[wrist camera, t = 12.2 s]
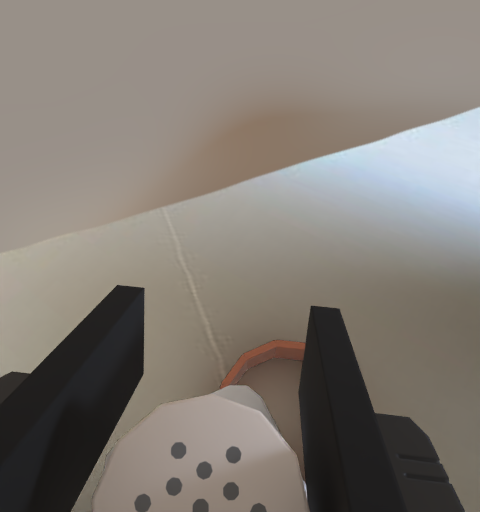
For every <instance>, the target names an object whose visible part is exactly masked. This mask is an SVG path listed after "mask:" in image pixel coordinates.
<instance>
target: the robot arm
mask: <svg viewBox="0 0 480 512" xmlns="http://www.w3.org/2000/svg"><path fill="white" fill-rule="evenodd" d="M143 372H144V288H140V287H131V286H121V285H117V286H116V287H115V288H114V289H113V290H112V291H111V292H110V293H109V294H108V295H107V296H106V297H105V298H104V299H103V300H102V301H101V302H100V303H99V304H98V305H97V306H96V307H95V308H94V309H93V310H92V312H91V313H90V314H89V315H88V316H87V317H86V318H85V319H84V320H83V321H82V322H81V323H80V324H79V325H78V326H77V327H76V328H75V329H74V330H73V331H72V332H71V333H70V334H69V335H68V336H67V337H66V338H65V339H64V340H63V341H62V342H61V343H60V344H59V345H58V346H57V347H56V348H55V349H54V350H53V351H52V352H51V353H50V354H49V355H48V356H47V357H46V358H45V359H44V360H43V361H42V362H41V363H40V365H39V366H38V367H37V368H36V369H35V370H34V371H33V372H32V373H31V374H28V373H19V372H10V373H8V374H6V375H5V376H3V377H1V378H0V512H71V510H72V508H73V506H74V504H75V502H76V500H77V498H78V497H79V495H80V493H81V491H82V489H83V487H84V485H85V483H86V481H87V480H88V478H89V476H90V474H91V472H92V470H93V468H94V466H95V464H96V463H97V461H98V459H99V457H100V455H101V453H102V451H103V449H104V447H105V446H106V444H107V442H108V440H109V438H110V436H111V434H112V432H113V430H114V429H115V427H116V425H117V423H118V421H119V419H120V417H121V415H122V413H123V412H124V410H125V408H126V406H127V404H128V402H129V400H130V398H131V396H132V395H133V393H134V391H135V389H136V387H137V385H138V383H139V381H140V379H141V378H142V376H143ZM299 404H300V416H301V428H302V441H303V453H304V465H305V478H306V490H307V501H308V506H309V510H310V512H465V511H464V509H463V507H462V505H461V503H460V500H459V498H458V496H457V494H456V492H455V490H454V488H453V486H452V484H450V483H449V478H448V476H447V474H446V472H445V470H444V467H443V465H442V464H440V462H439V460H440V459H439V457H438V455H437V453H436V451H435V449H434V447H433V445H432V443H431V441H430V439H429V437H428V436H427V435H426V434H425V433H424V432H423V431H422V430H421V429H420V428H419V427H418V426H417V425H416V424H415V423H414V422H413V421H412V420H411V419H410V418H409V417H402V416H394V415H386V414H377V413H374V410H373V407H372V404H371V401H370V398H369V395H368V392H367V389H366V386H365V383H364V380H363V377H362V374H361V371H360V369H359V366H358V363H357V360H356V357H355V354H354V351H353V348H352V345H351V342H350V339H349V336H348V333H347V330H346V327H345V324H344V321H343V318H342V315H341V312H340V309H337V308H328V307H318V306H311V309H310V316H309V323H308V330H307V337H306V344H305V351H304V358H303V365H302V372H301V379H300V386H299Z"/></svg>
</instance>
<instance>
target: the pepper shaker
mask: <svg viewBox="0 0 480 512" xmlns="http://www.w3.org/2000/svg"><path fill="white" fill-rule="evenodd" d="M92 512H310V510H309V506H308V501H307V490H306V485H305V482H304V480H303V478H302V475H301V471H300V467H299V462H298V458H297V454H296V453H295V452H294V451H293V450H292V448H291V447H290V446H289V445H288V444H287V442H286V441H285V440H284V439H283V437H282V435H281V433H280V431H279V429H278V427H277V425H276V423H275V421H274V420H273V418H272V416H271V414H270V412H269V410H268V408H267V406H266V404H265V403H264V401H263V399H262V397H261V396H260V395H258V394H257V393H256V392H255V391H253V390H252V389H251V388H250V387H249V386H247V385H229V386H226V387H224V388H222V389H220V390H218V391H215V392H213V393H211V394H208V395H203V396H198V397H193V398H188V399H182V400H177V401H172V402H167V403H162V404H160V405H159V406H158V407H157V408H155V409H154V410H153V411H152V412H151V413H149V414H148V415H147V416H146V417H145V418H143V419H142V420H141V421H140V422H139V423H138V424H136V425H135V426H134V427H133V428H132V429H130V430H129V431H128V432H127V433H126V434H124V435H123V436H122V437H121V438H120V439H118V440H117V443H116V445H115V446H114V447H113V448H112V449H111V451H110V452H109V453H108V454H107V455H106V461H105V467H104V472H103V474H102V476H101V479H100V481H99V483H98V485H97V488H96V490H95V492H94V494H93V497H92Z"/></svg>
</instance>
